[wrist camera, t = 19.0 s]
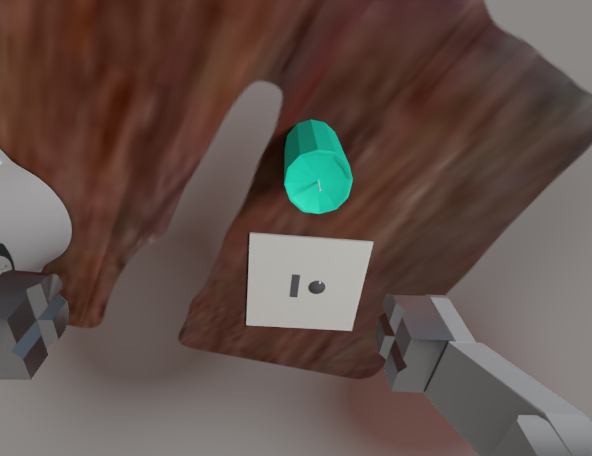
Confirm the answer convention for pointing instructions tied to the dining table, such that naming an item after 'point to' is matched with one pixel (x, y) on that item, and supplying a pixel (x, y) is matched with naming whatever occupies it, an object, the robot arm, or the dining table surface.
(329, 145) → the candle
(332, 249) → the tile
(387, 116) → the dining table surface
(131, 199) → the dining table surface
